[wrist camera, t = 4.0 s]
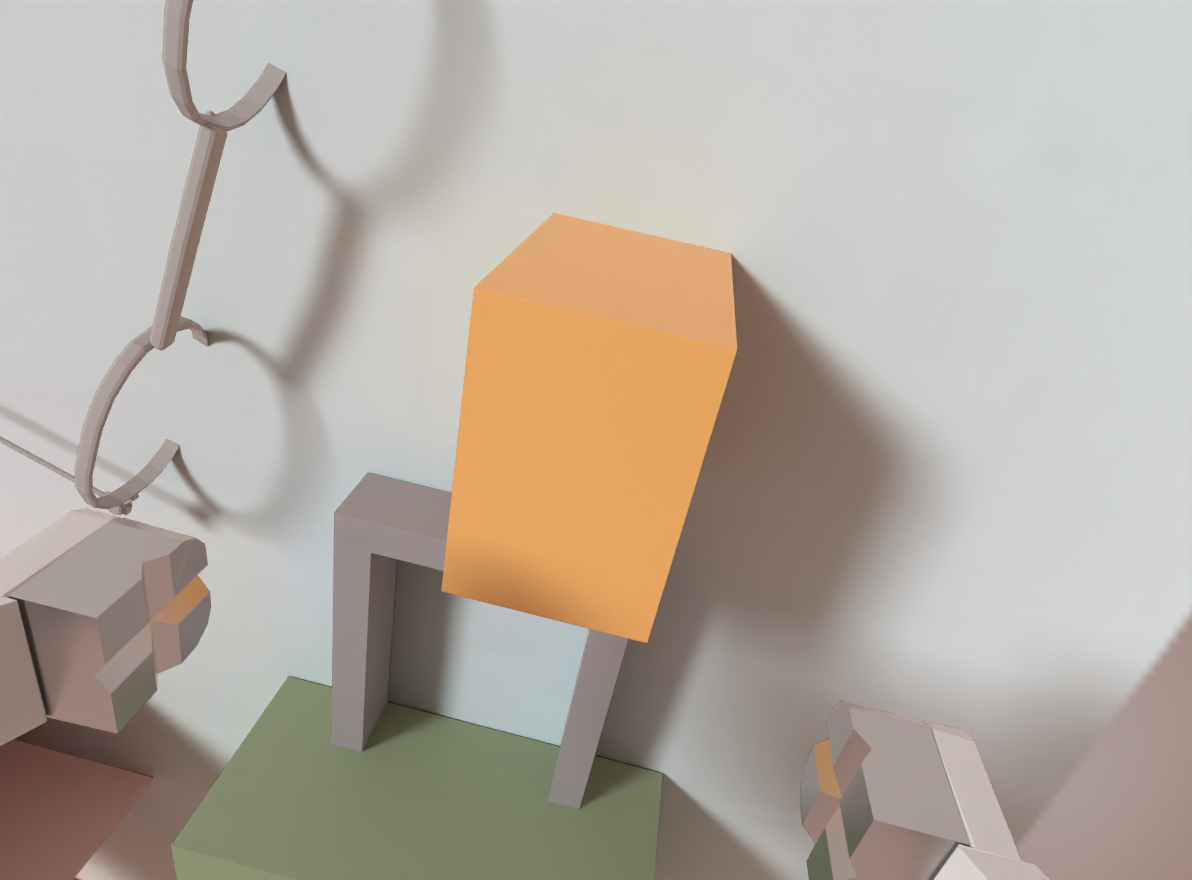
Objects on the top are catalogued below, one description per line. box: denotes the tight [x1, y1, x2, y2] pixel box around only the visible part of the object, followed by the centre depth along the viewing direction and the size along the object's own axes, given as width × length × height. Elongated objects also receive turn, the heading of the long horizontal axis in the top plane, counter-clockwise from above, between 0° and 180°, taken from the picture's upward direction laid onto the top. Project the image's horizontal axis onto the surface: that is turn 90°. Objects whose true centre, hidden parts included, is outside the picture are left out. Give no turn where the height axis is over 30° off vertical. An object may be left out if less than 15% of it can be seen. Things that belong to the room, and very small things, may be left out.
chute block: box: [441, 213, 737, 643], centre depth 15 cm, size 6×4×6 cm, turn 169°
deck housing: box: [171, 473, 663, 880], centre depth 21 cm, size 17×13×7 cm
